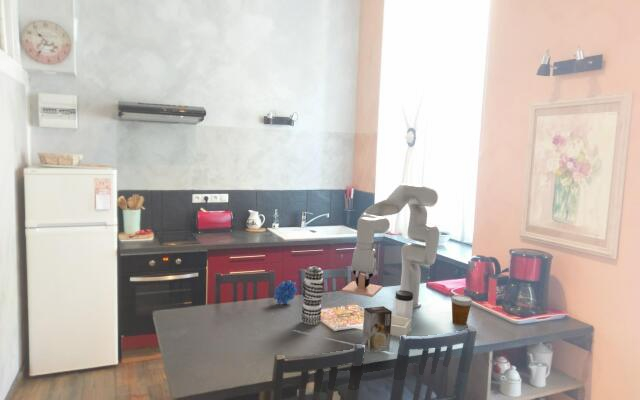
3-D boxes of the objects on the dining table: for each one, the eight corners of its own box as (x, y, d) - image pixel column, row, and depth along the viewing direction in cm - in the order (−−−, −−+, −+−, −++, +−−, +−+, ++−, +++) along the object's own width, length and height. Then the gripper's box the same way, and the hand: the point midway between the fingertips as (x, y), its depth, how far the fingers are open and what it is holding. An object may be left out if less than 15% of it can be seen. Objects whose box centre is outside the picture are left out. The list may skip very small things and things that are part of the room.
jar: (401, 322, 217) (403, 296, 215) (389, 316, 223) (391, 291, 222) (415, 319, 222) (417, 294, 220) (403, 313, 228) (405, 289, 227)
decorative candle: (324, 321, 212) (328, 267, 209) (315, 328, 203) (319, 271, 200) (306, 317, 215) (309, 263, 213) (297, 323, 207) (300, 268, 204)
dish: (384, 324, 213) (385, 313, 212) (410, 329, 208) (411, 318, 207) (376, 333, 202) (377, 322, 201) (404, 339, 197) (405, 328, 196)
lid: (352, 283, 219) (353, 268, 218) (381, 288, 213) (382, 273, 212) (341, 291, 206) (342, 276, 205) (372, 297, 200) (373, 281, 199)
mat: (349, 316, 220) (349, 314, 220) (378, 322, 215) (378, 320, 215) (338, 325, 207) (338, 324, 207) (369, 332, 202) (369, 331, 202)
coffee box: (381, 344, 191) (384, 305, 189) (389, 350, 185) (392, 311, 183) (361, 346, 187) (364, 307, 186) (369, 353, 182) (372, 313, 180)
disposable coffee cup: (445, 322, 220) (447, 297, 218) (454, 317, 227) (457, 293, 225) (464, 328, 213) (466, 302, 212) (473, 323, 220) (476, 298, 219)
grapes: (293, 300, 238) (295, 277, 236) (297, 304, 231) (299, 280, 230) (271, 301, 234) (272, 278, 232) (274, 306, 227) (276, 282, 226)
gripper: (385, 246, 207) (382, 287, 210) (350, 241, 214) (348, 281, 216) (380, 249, 200) (377, 291, 203) (344, 244, 207) (342, 285, 209)
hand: (362, 285), depth 209 cm, fingers closed on lid, 3 cm apart
